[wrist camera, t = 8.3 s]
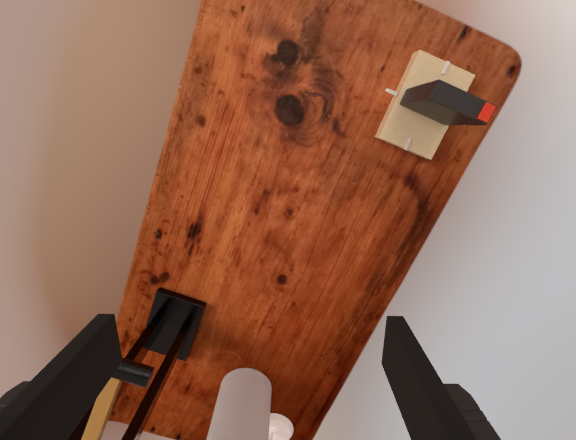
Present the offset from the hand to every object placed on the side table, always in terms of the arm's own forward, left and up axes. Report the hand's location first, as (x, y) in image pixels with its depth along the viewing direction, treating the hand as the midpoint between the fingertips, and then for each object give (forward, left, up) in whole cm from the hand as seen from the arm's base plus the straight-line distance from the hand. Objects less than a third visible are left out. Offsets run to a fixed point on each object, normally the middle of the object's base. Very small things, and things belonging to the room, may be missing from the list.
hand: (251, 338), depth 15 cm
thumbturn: (-14, +16, -25) cm, 33 cm away
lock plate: (-14, +16, -27) cm, 34 cm away
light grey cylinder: (+31, -2, -27) cm, 41 cm away
